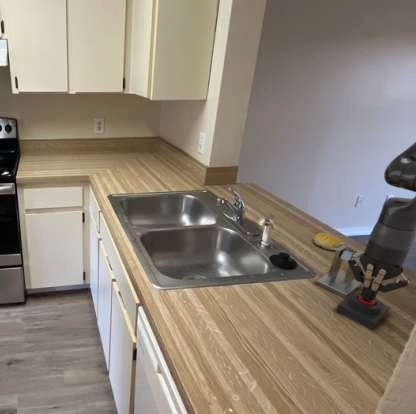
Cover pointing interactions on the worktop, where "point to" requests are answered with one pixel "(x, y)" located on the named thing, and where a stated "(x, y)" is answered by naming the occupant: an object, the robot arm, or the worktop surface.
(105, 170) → the worktop surface
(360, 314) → the button block
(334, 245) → the bread roll
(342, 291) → the lever bracket
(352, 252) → the press lever
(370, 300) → the button
